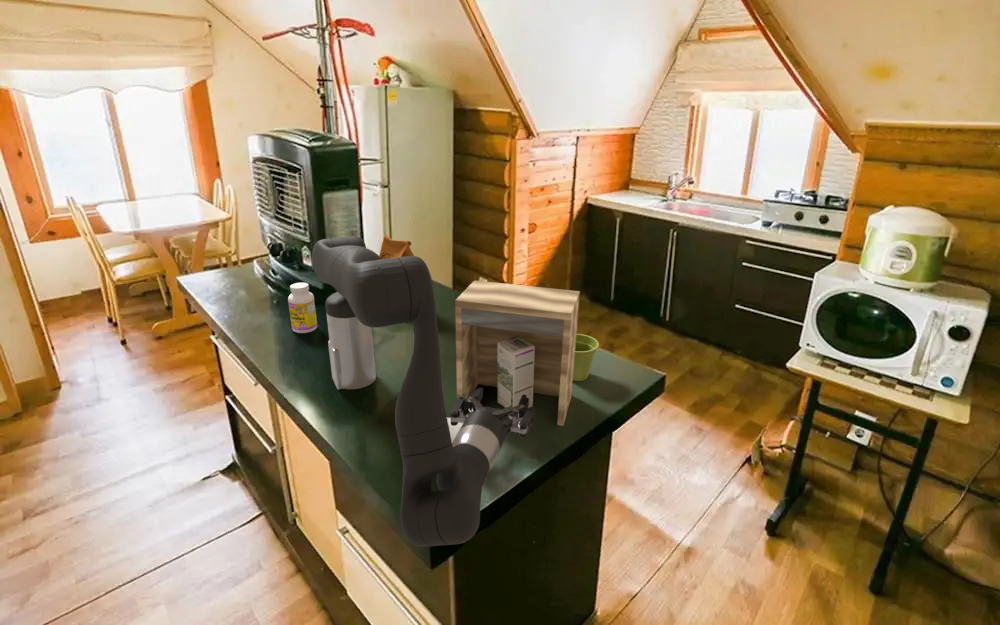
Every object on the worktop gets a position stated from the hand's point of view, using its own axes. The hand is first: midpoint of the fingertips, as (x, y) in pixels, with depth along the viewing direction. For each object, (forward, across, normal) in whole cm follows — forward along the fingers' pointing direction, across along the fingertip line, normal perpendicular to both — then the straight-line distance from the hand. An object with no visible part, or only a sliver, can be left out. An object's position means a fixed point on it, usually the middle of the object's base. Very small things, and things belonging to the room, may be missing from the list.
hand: (502, 395), depth 102 cm
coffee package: (+53, +47, +9) cm, 71 cm away
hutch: (+12, 0, +9) cm, 14 cm away
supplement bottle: (+32, +65, +9) cm, 73 cm away
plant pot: (+27, -11, +9) cm, 30 cm away
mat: (-4, +10, +8) cm, 14 cm away
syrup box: (+11, 0, +9) cm, 14 cm away
